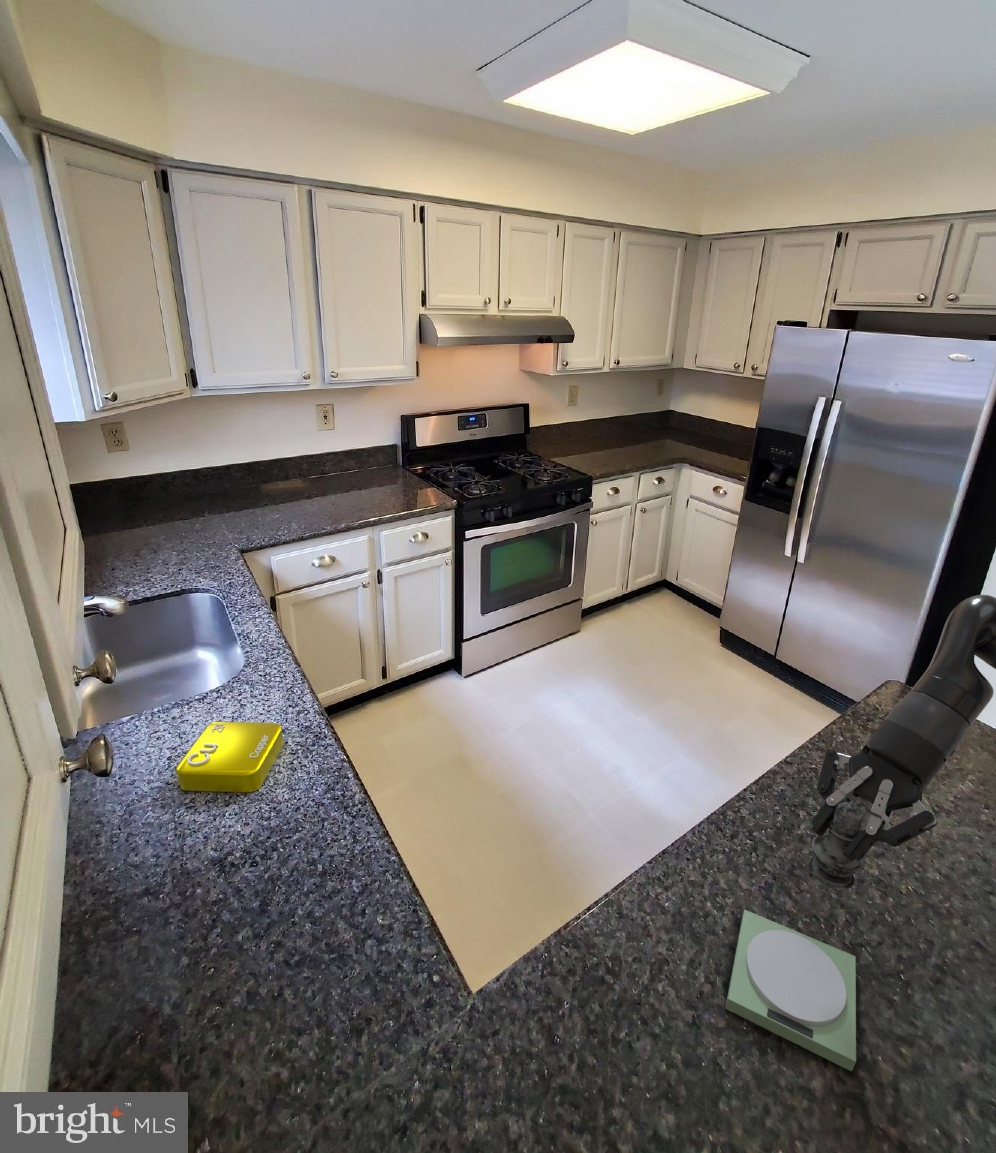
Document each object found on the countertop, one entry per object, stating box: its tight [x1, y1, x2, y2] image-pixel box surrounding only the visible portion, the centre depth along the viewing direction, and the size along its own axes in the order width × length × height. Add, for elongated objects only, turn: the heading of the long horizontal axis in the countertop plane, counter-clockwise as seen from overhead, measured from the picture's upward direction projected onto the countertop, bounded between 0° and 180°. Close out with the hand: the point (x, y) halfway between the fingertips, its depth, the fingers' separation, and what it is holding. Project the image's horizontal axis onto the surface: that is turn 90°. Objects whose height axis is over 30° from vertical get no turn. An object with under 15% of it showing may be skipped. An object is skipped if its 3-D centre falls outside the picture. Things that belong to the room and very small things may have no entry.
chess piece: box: [808, 801, 865, 891], centre depth 75 cm, size 6×6×12 cm
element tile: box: [175, 721, 285, 794], centre depth 113 cm, size 15×15×5 cm
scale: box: [724, 909, 857, 1072], centre depth 77 cm, size 14×14×3 cm
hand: (831, 844), depth 74 cm, fingers closed on chess piece, 3 cm apart
